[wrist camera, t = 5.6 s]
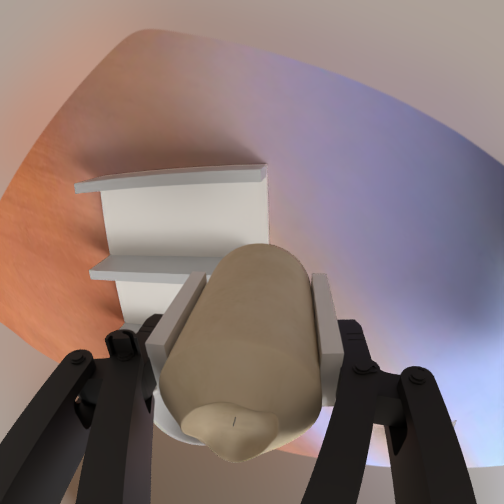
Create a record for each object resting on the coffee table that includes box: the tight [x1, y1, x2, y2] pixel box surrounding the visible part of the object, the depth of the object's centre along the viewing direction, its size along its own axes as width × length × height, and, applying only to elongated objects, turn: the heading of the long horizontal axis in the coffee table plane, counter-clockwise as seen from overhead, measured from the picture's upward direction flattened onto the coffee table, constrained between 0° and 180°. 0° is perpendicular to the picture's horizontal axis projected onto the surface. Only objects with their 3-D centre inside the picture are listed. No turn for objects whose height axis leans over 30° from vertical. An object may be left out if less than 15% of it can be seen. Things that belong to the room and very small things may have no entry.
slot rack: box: [74, 164, 269, 333], centre depth 32 cm, size 18×19×6 cm
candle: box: [159, 243, 322, 462], centre depth 13 cm, size 6×6×10 cm
